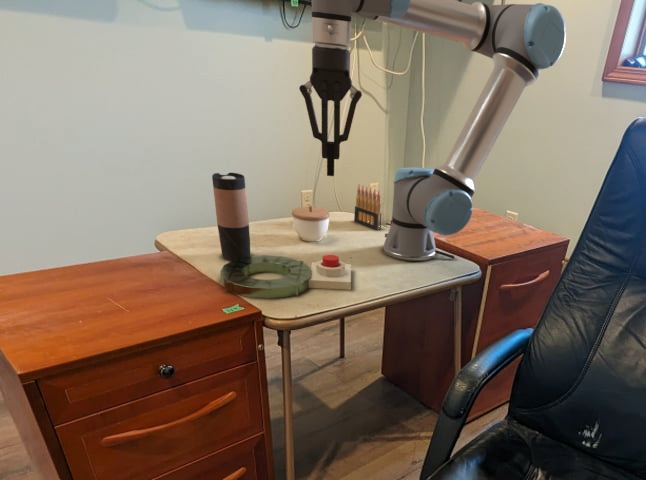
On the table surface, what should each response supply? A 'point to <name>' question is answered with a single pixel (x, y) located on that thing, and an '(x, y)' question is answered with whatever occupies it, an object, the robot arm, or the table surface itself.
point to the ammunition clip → (368, 208)
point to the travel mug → (232, 215)
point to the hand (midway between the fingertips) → (330, 174)
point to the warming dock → (241, 284)
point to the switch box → (330, 276)
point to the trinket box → (310, 223)
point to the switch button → (330, 261)
